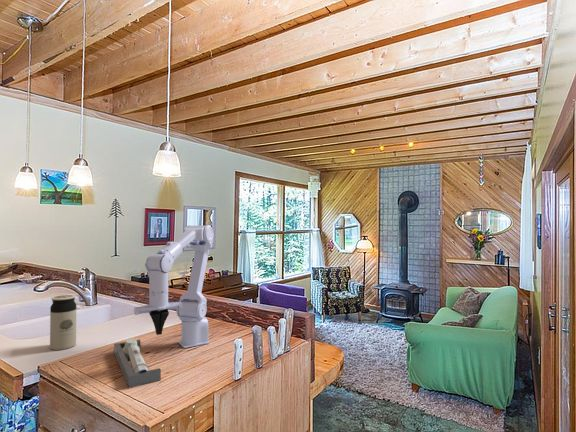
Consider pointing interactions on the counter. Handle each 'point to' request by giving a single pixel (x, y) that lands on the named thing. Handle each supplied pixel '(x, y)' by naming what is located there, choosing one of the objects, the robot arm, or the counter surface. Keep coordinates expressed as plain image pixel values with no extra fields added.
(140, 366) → the white handheld device
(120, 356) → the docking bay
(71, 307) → the travel mug
